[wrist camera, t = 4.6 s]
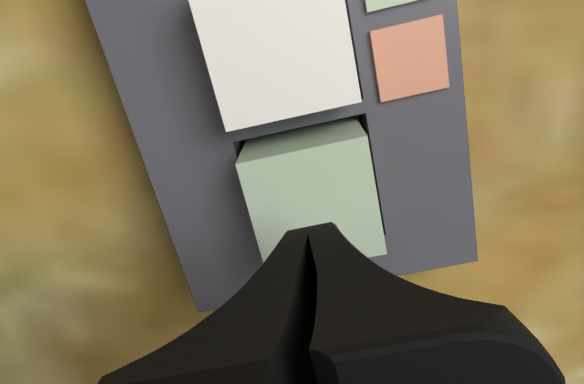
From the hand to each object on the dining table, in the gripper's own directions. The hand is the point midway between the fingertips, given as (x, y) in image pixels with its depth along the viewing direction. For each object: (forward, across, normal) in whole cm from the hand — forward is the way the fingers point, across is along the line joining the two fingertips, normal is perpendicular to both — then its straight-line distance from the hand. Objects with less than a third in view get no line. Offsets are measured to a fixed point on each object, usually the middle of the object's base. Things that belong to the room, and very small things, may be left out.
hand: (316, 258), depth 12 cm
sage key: (+7, 0, 0) cm, 7 cm away
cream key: (+7, 0, -6) cm, 9 cm away
